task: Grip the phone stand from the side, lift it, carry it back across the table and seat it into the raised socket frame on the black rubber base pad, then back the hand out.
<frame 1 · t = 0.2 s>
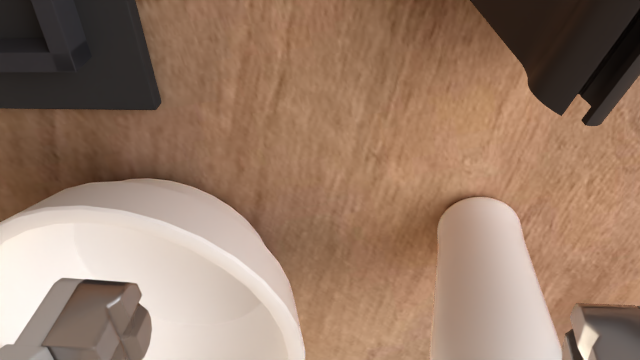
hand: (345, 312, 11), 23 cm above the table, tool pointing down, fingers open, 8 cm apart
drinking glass: (477, 221, 39), on the table
bowl: (176, 250, 45), on the table
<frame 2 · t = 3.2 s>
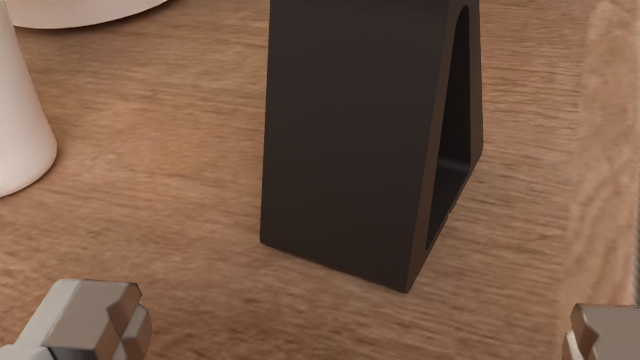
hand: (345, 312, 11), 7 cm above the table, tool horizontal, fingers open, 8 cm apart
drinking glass: (6, 173, 28), on the table
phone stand: (379, 200, 24), on the table
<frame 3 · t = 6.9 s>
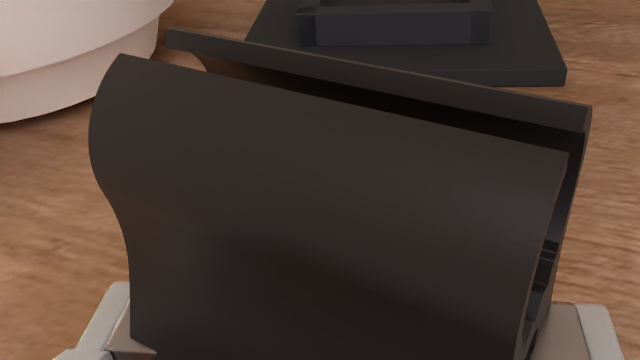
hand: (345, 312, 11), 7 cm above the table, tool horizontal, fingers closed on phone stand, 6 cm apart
bowl: (37, 75, 37), on the table
dock pad: (395, 16, 39), on the table
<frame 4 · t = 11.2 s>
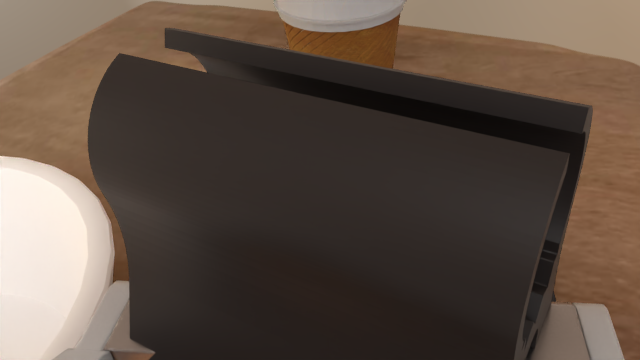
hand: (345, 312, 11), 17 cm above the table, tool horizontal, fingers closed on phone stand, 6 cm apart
disposable coffee cup: (346, 126, 48), on the table
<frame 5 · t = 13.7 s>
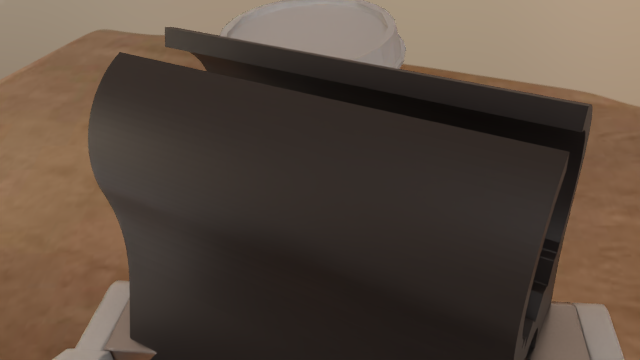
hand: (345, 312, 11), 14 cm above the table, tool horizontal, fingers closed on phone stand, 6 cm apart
disposable coffee cup: (324, 217, 36), on the table
when the fingers open (9 cm above the table, at t = 15.6 s): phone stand stays where it is, resting on dock pad.
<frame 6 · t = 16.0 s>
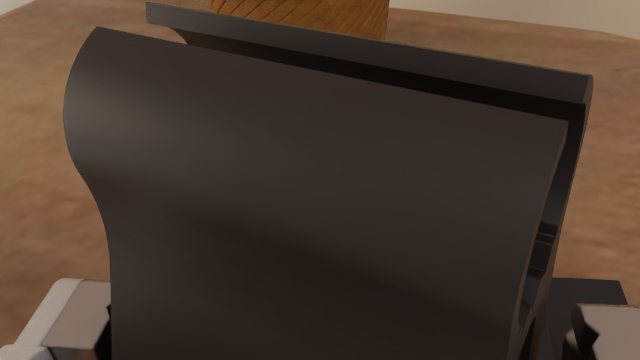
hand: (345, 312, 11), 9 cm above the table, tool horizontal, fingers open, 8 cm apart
disposable coffee cup: (314, 149, 32), on the table
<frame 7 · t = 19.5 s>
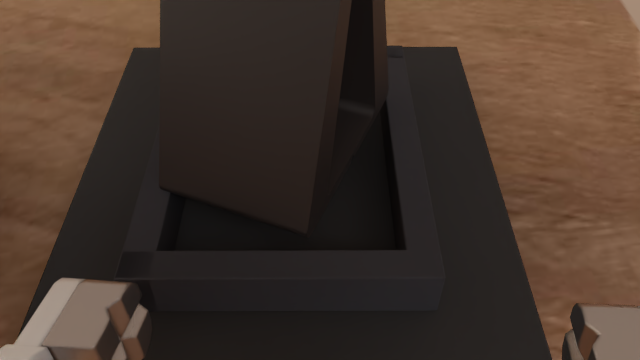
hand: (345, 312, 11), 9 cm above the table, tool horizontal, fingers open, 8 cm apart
dock pad: (290, 188, 26), on the table
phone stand: (284, 144, 24), point 3 cm above the table, touching dock pad
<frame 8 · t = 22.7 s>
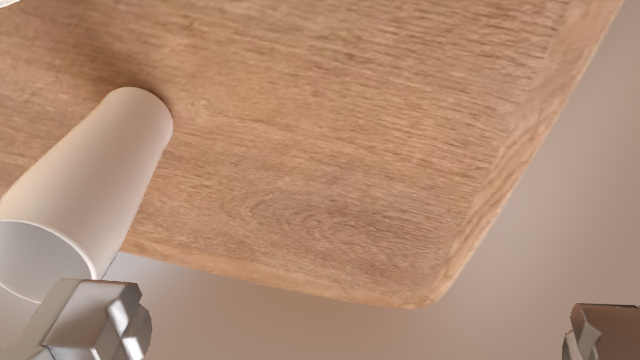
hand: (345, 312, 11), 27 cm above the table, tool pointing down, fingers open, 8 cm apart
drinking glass: (141, 114, 42), on the table
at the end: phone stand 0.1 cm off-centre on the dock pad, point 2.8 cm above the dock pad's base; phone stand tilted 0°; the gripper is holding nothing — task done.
